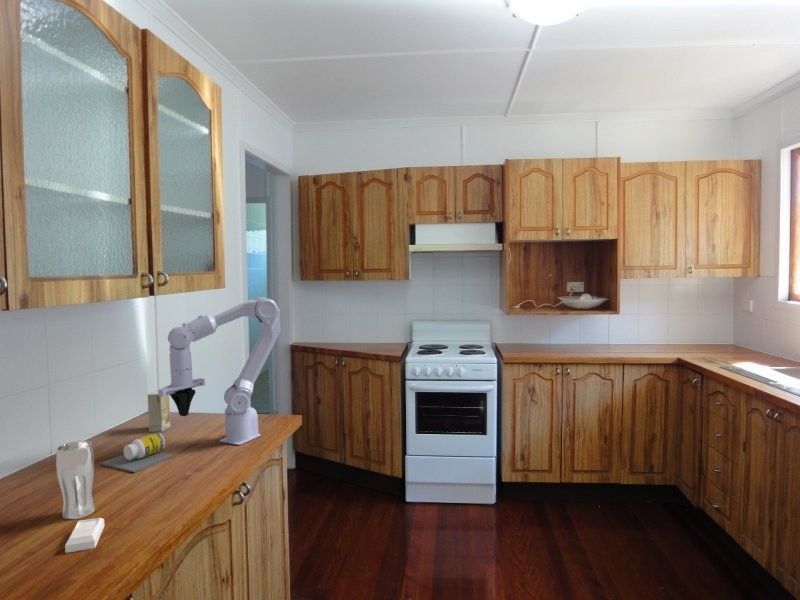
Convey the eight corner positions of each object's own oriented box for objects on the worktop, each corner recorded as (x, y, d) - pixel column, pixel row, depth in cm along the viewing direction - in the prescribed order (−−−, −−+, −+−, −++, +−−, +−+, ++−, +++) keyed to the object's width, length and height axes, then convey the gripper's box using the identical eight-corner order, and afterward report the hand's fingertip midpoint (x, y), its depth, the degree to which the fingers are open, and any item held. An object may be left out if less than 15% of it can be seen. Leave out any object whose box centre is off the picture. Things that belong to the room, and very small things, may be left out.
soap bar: (65, 554, 101) (64, 541, 100) (77, 531, 109) (76, 519, 109) (95, 549, 102) (94, 536, 102) (104, 527, 111) (103, 515, 111)
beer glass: (73, 505, 120) (68, 440, 119) (103, 505, 120) (99, 440, 119) (52, 520, 113) (47, 451, 112) (84, 520, 113) (79, 451, 112)
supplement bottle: (167, 449, 151) (136, 462, 142) (155, 451, 153) (123, 463, 145) (163, 430, 151) (131, 442, 142) (151, 432, 153) (119, 443, 145)
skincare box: (162, 432, 170) (160, 394, 169) (148, 432, 170) (146, 394, 169) (171, 425, 176) (169, 389, 175) (158, 426, 176) (156, 389, 175)
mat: (141, 450, 154) (141, 448, 154) (172, 457, 148) (172, 455, 148) (101, 464, 144) (101, 462, 144) (133, 473, 138) (133, 470, 138)
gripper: (191, 363, 162) (194, 407, 163) (149, 373, 149) (152, 420, 150) (208, 364, 158) (211, 409, 159) (166, 375, 146) (169, 423, 147)
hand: (184, 415), depth 155 cm, fingers closed
